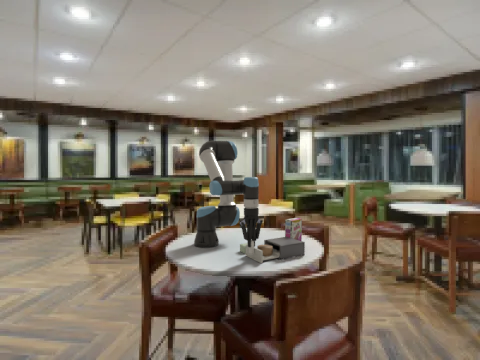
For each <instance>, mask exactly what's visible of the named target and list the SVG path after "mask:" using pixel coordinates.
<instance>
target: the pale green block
mask: <svg viewBox="0 0 480 360" xmlns="http://www.w3.org/2000/svg"><path fill="white" fill-rule="evenodd" d="M246 244H248V242H246V243H240V244H239V252H241V253H243V254H246Z"/></svg>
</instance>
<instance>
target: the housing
mask: <svg viewBox="0 0 480 360" xmlns="http://www.w3.org/2000/svg"><path fill="white" fill-rule="evenodd" d="M263 242H264V243H263V245H271V246H272V247H273V249H276V250H278V251H280V257H279V258H277V259H278V260H282V261H283V260H286V259H291V258H296V257H297V258H298V257H301V256H305V252H306V251H305V249H306V248H305V247H306V244H305V241H299V240H296V239H293V238H290V237H285V236H281V237H275V238H268V239H264V241H263Z"/></svg>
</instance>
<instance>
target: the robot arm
mask: <svg viewBox="0 0 480 360" xmlns="http://www.w3.org/2000/svg"><path fill="white" fill-rule="evenodd" d="M198 155H199V159H200V161H201V162H202V163H203V164H204V166H205V169H206V172H207V175H208V177H209V179H210V183H209V186H208V187H209V193H210V194H211V195H212V196H219V203H218V204H217V207H216V206H215V205H208V206H202V207H199V208H198V209H197V210H196V234H195V237H194V241H193V246H195V247H197V248H214V247H217V246H219V243H220V242H219V238H218V234H217V231H216V230H217V228H218V227H232V226H236V225H237V224H238V223H239V225H240V226H241V233H242V235H243V239H244V240H245V241H247V243H248V247H249V253H250V254H254V247H255V248H256V241H257V240H258V239H259V238H260V235H261V234H260V232H261V227H262V224H263V222H264V220H262V219H260V216H259V215H260V213H259V210H260V208H259V206H260V205H259V188H260V187H259V186H260V184H259V178H258V177H256V176H245V177H244V178H243V179H239V180H234V179H233V178H234V177H233V164H234V163H235V160H236V159H237V158H238V147H237V145H236V143H235V142H234V141H231V140H208V141H206V142H204V143H203V144H202V145H201V147H200V148H199V153H198ZM234 195H236V196H237V195H243V207H244V208H243V216H244V217H243V218H242V219H243V220H241V221H239V220H240V216H241V215H240V214H241V213H240V208H239V207H238V206H237V204H236V203H235V201H234Z"/></svg>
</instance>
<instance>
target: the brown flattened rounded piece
mask: <svg viewBox="0 0 480 360" xmlns="http://www.w3.org/2000/svg"><path fill="white" fill-rule="evenodd" d="M256 248H257V249H259V250H262V251H263V256H271V255H272V254H273V247H272V246H271V245H264V244H258V245H257V247H256Z"/></svg>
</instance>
